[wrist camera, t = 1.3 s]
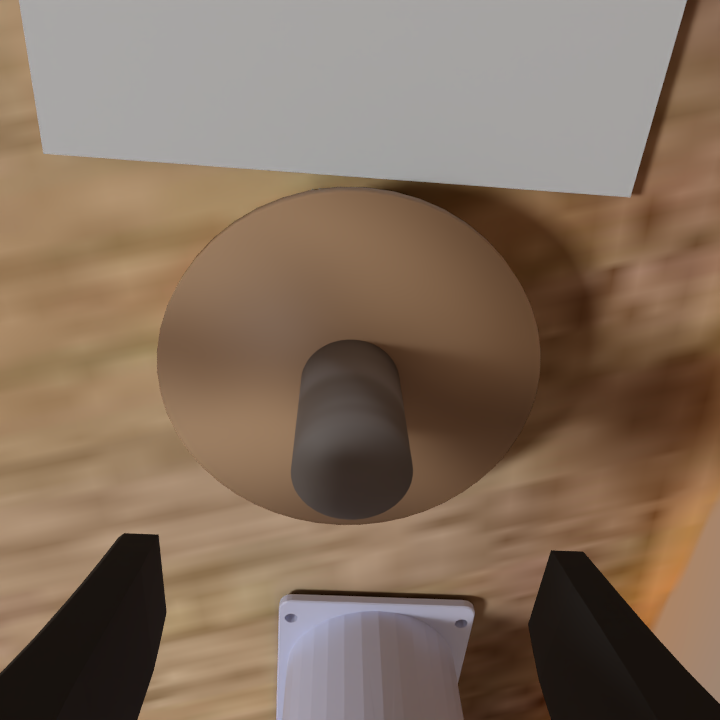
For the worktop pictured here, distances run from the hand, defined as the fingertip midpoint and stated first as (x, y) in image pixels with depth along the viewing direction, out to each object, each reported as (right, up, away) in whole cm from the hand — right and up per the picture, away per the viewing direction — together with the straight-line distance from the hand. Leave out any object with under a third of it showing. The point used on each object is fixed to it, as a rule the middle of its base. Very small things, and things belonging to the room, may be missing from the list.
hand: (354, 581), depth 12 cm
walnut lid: (0, +4, +7) cm, 8 cm away
